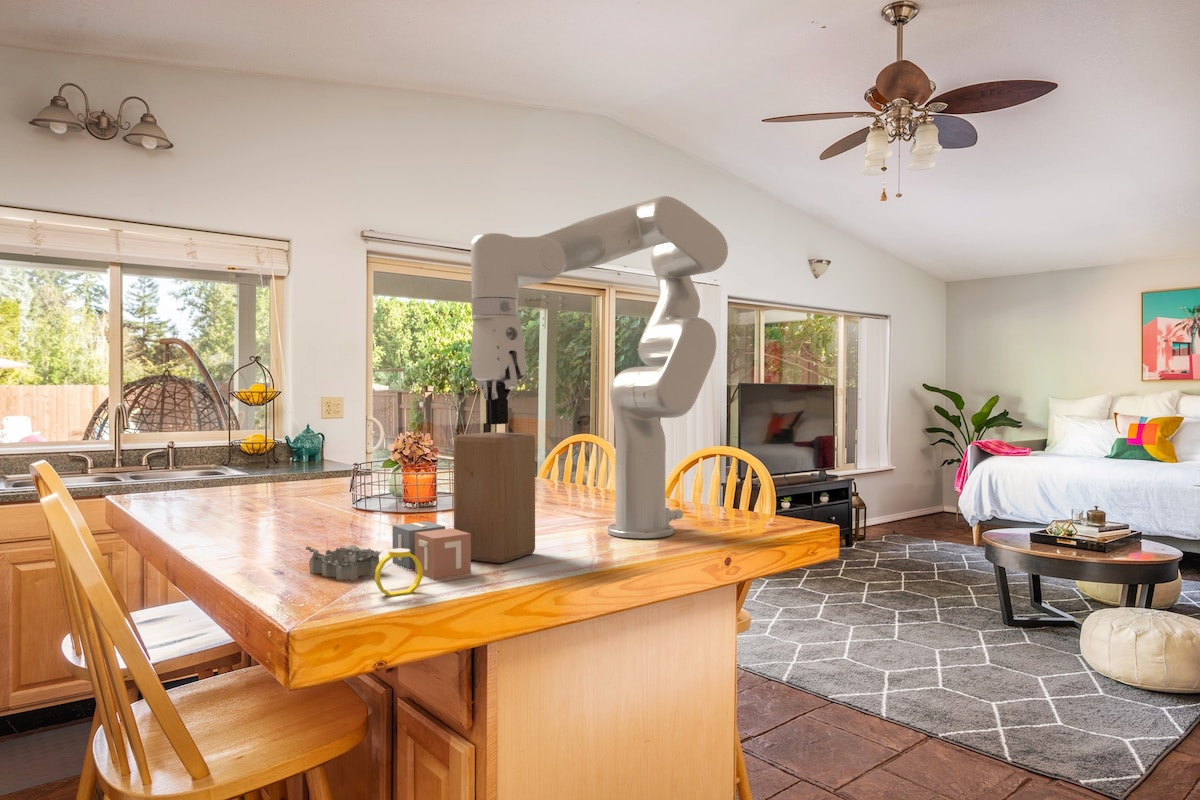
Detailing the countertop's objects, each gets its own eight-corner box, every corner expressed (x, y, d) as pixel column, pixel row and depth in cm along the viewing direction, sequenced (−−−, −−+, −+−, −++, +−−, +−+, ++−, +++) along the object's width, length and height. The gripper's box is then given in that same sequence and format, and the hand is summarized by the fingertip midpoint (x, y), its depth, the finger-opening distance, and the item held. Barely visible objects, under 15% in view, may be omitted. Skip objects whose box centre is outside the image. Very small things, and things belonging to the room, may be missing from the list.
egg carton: (302, 573, 112) (302, 545, 112) (347, 564, 118) (347, 538, 118) (341, 584, 105) (340, 555, 105) (387, 574, 111) (386, 546, 111)
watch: (416, 591, 102) (419, 547, 102) (423, 596, 99) (426, 551, 99) (372, 594, 99) (375, 548, 99) (377, 599, 96) (380, 552, 96)
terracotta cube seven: (451, 567, 115) (451, 528, 115) (471, 574, 110) (471, 533, 110) (413, 573, 111) (413, 532, 111) (432, 581, 106) (432, 538, 106)
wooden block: (451, 559, 120) (451, 434, 120) (488, 548, 129) (488, 431, 129) (502, 565, 115) (502, 436, 115) (537, 553, 124) (537, 433, 124)
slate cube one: (427, 558, 121) (427, 520, 121) (445, 565, 116) (445, 525, 116) (391, 563, 117) (391, 524, 117) (408, 570, 112) (408, 529, 112)
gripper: (540, 308, 119) (542, 424, 119) (491, 316, 130) (493, 421, 131) (499, 305, 114) (501, 426, 114) (452, 314, 125) (454, 423, 126)
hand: (497, 423), depth 122 cm, fingers closed
